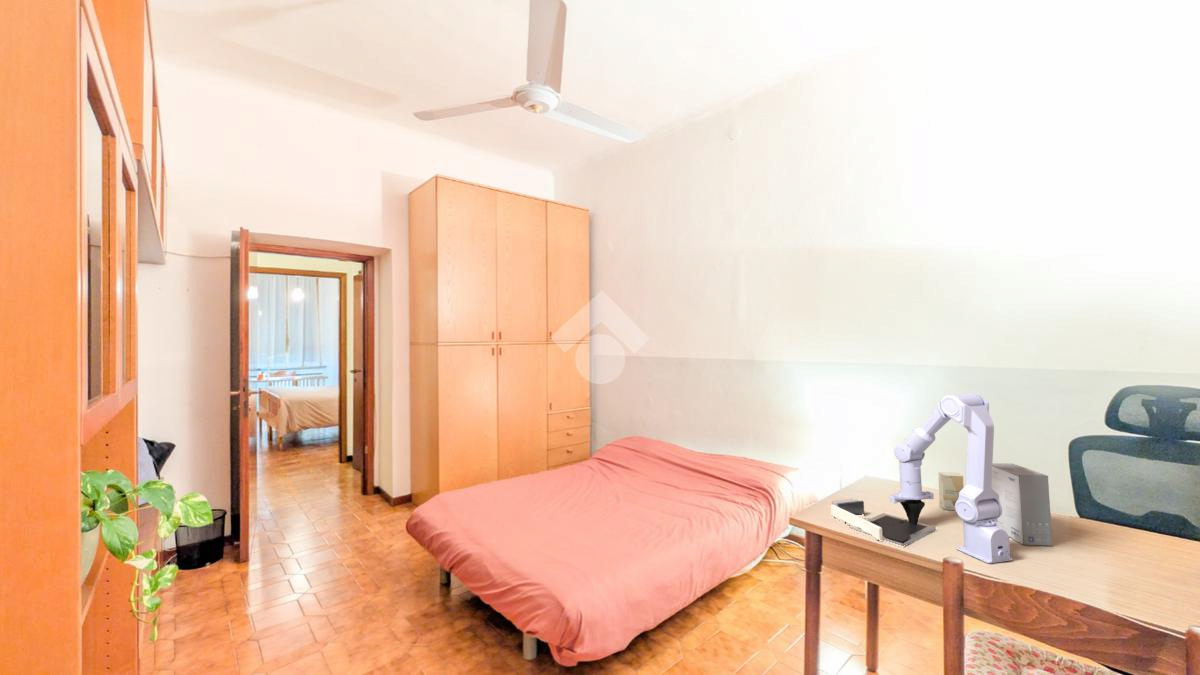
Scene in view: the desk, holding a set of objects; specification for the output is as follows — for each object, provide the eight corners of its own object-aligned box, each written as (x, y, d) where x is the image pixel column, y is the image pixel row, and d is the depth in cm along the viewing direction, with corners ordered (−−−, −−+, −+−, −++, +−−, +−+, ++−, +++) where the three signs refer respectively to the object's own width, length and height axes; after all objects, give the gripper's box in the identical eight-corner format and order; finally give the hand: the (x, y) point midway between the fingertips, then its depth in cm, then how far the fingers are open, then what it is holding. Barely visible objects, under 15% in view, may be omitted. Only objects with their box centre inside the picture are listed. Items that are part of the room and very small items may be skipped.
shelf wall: (882, 541, 140) (881, 527, 140) (879, 541, 140) (879, 528, 140) (833, 516, 162) (833, 504, 162) (831, 516, 161) (830, 504, 161)
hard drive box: (1054, 547, 132) (1049, 476, 132) (1022, 545, 133) (1018, 475, 134) (1017, 526, 147) (1013, 462, 148) (989, 525, 149) (985, 462, 149)
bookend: (869, 518, 158) (868, 503, 158) (843, 521, 156) (843, 506, 157) (862, 515, 161) (861, 500, 161) (837, 518, 160) (836, 503, 160)
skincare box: (944, 510, 163) (941, 474, 163) (939, 505, 167) (937, 471, 167) (965, 511, 161) (963, 475, 161) (960, 507, 165) (958, 472, 166)
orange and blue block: (860, 515, 161) (859, 500, 161) (837, 518, 160) (837, 503, 160) (852, 511, 165) (852, 497, 165) (831, 514, 163) (830, 500, 163)
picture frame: (902, 551, 135) (936, 533, 146) (902, 541, 135) (935, 524, 146) (849, 534, 149) (883, 519, 160) (849, 525, 149) (883, 510, 160)
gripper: (919, 475, 155) (922, 516, 155) (881, 479, 153) (883, 521, 153) (938, 481, 148) (940, 524, 148) (898, 485, 146) (901, 529, 146)
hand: (913, 523), depth 150 cm, fingers closed, pressing on picture frame
